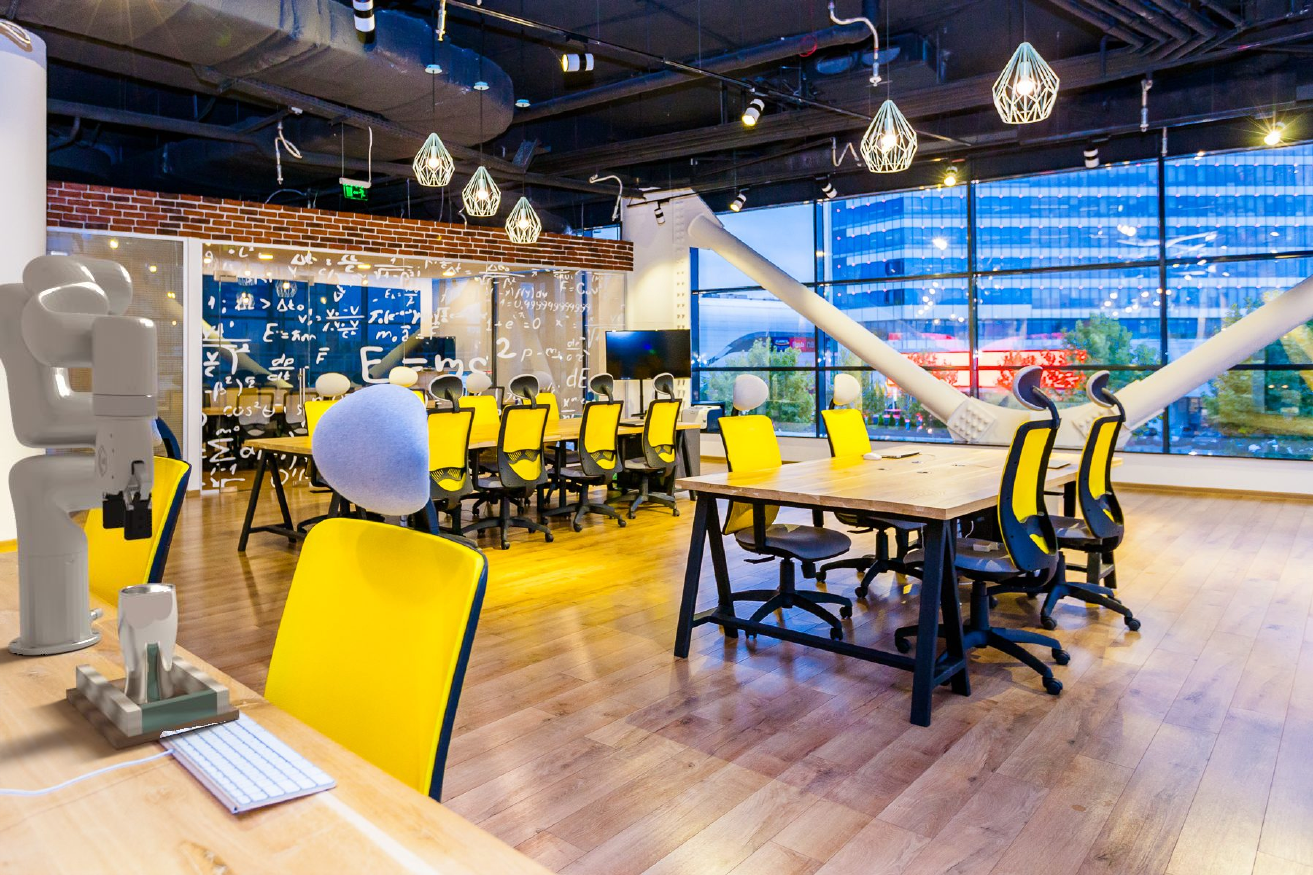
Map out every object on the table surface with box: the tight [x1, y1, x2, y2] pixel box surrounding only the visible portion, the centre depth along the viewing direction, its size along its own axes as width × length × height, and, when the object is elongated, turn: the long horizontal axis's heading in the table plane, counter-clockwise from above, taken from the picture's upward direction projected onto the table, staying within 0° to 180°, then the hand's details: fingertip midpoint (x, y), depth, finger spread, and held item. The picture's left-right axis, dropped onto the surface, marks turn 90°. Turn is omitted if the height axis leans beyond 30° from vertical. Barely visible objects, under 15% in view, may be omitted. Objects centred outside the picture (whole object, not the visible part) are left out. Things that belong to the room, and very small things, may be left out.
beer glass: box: [116, 582, 179, 706], centre depth 116 cm, size 7×7×15 cm
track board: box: [65, 652, 240, 751], centre depth 116 cm, size 24×14×4 cm, turn 46°
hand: (127, 533), depth 118 cm, fingers open, 9 cm apart
